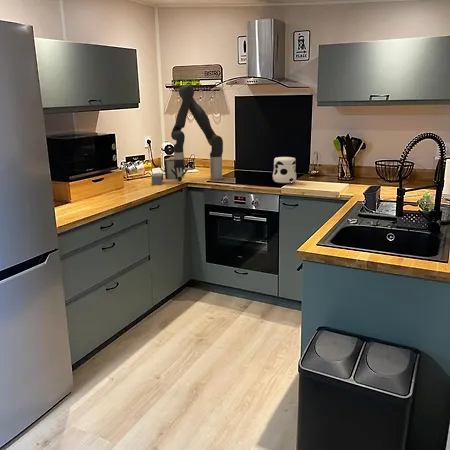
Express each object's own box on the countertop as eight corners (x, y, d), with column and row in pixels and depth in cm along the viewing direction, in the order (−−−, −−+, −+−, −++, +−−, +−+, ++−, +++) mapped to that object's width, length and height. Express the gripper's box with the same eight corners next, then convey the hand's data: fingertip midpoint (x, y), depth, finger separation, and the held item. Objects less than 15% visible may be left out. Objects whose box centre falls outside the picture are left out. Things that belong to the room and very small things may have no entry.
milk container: (301, 182, 331) (301, 158, 326) (285, 186, 320) (286, 161, 315) (282, 179, 344) (283, 155, 338) (267, 183, 332) (267, 158, 327)
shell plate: (179, 182, 341) (178, 179, 341) (177, 184, 334) (177, 181, 333) (162, 182, 342) (161, 179, 341) (159, 184, 334) (159, 181, 334)
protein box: (184, 176, 363) (183, 156, 358) (177, 180, 348) (176, 159, 344) (171, 175, 365) (171, 156, 361) (164, 179, 351) (163, 159, 346)
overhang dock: (163, 181, 343) (163, 173, 342) (161, 184, 332) (161, 176, 330) (154, 181, 343) (153, 173, 342) (152, 185, 332) (151, 176, 330)
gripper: (188, 157, 336) (189, 180, 341) (170, 157, 336) (171, 180, 341) (187, 158, 329) (188, 182, 334) (169, 159, 329) (170, 182, 334)
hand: (180, 181), depth 337 cm, fingers closed
